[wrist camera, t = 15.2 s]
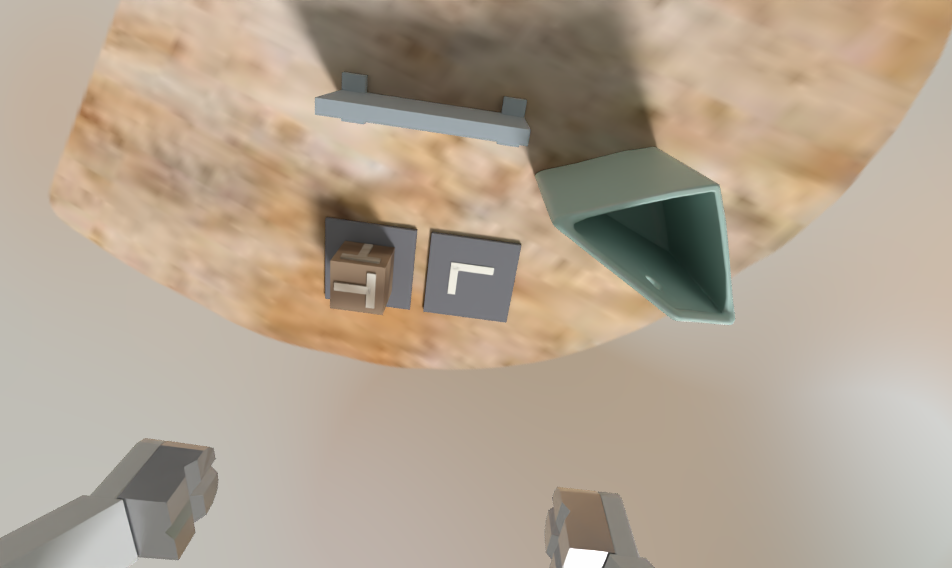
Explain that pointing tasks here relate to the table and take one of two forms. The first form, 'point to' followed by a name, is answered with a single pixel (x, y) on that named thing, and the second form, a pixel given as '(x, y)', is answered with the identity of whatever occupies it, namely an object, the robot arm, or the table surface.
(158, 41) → the table surface
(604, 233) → the planter
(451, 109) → the screen
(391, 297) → the pad
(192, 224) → the table surface
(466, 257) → the pad
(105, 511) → the robot arm
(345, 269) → the cube
